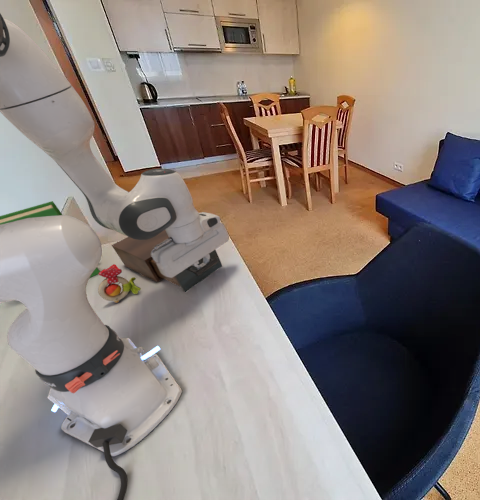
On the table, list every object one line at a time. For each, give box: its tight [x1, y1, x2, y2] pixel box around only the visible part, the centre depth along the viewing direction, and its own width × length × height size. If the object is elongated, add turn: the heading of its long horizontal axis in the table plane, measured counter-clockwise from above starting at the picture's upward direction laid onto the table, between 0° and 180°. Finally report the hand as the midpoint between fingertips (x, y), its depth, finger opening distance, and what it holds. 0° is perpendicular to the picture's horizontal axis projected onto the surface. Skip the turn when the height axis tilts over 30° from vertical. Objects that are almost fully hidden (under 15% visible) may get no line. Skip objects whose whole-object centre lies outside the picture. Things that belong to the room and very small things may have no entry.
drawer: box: [149, 249, 223, 293], centre depth 92 cm, size 23×13×7 cm, turn 59°
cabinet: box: [111, 230, 169, 283], centre depth 100 cm, size 20×15×9 cm
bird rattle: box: [97, 263, 142, 303], centre depth 86 cm, size 6×11×9 cm
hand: (204, 269), depth 87 cm, fingers closed
